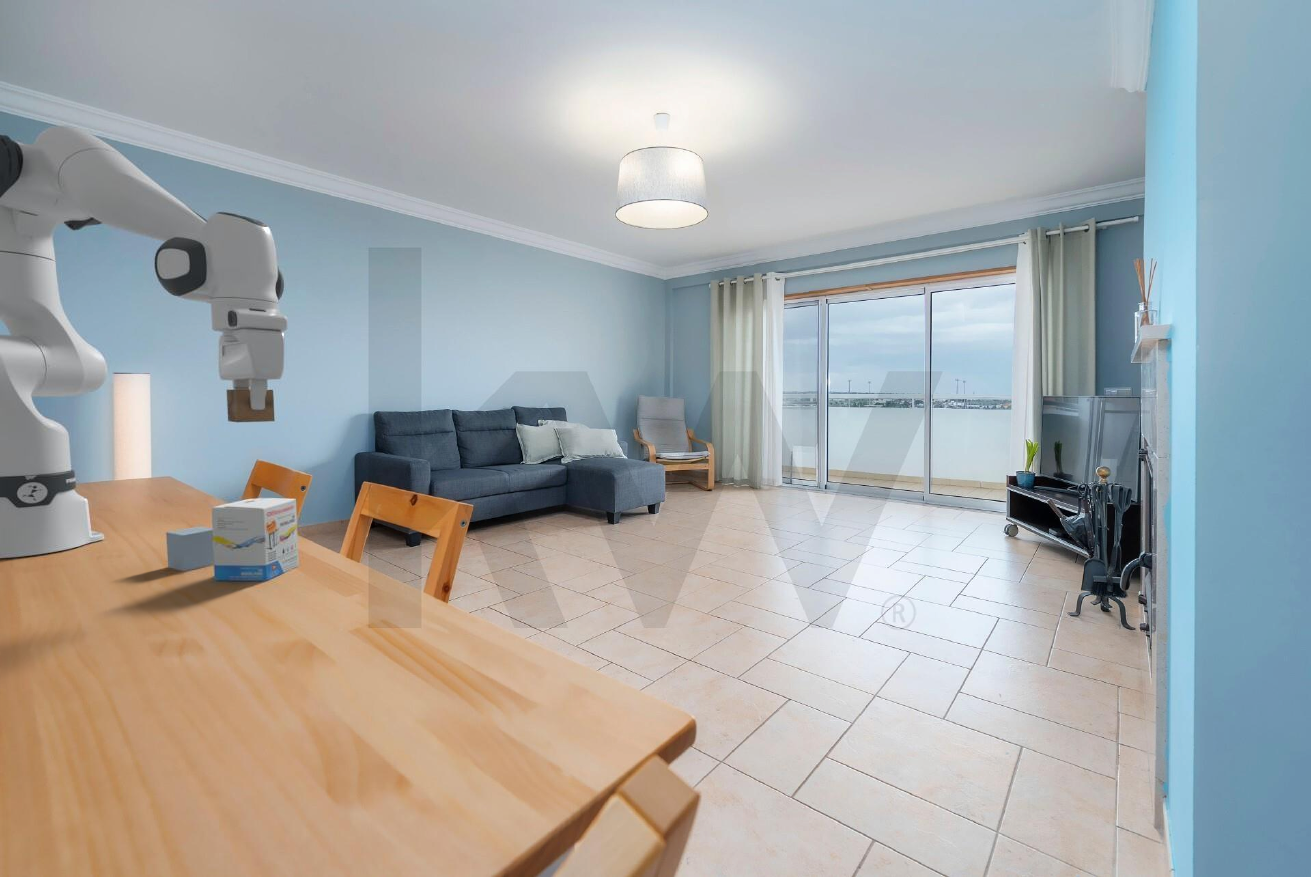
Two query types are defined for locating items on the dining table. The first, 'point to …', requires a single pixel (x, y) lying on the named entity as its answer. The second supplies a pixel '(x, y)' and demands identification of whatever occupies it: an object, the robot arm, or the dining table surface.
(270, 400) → the walnut block
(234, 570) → the ink box
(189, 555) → the slate block
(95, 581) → the dining table surface
